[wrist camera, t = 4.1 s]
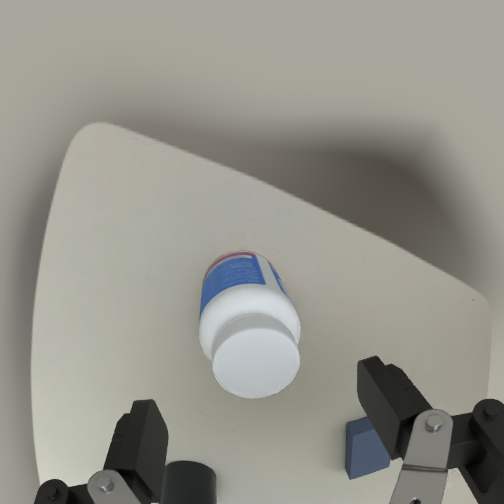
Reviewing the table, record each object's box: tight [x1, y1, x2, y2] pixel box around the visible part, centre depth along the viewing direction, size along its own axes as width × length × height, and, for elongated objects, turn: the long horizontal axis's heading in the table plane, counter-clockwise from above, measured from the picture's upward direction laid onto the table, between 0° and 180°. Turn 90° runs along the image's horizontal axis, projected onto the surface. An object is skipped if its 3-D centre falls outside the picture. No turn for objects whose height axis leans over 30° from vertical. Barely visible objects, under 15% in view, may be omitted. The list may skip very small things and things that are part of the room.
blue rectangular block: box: [345, 417, 391, 480], centre depth 29 cm, size 9×5×2 cm, turn 10°
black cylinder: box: [158, 461, 217, 504], centre depth 26 cm, size 6×6×6 cm
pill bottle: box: [199, 251, 301, 398], centre depth 18 cm, size 6×5×10 cm
